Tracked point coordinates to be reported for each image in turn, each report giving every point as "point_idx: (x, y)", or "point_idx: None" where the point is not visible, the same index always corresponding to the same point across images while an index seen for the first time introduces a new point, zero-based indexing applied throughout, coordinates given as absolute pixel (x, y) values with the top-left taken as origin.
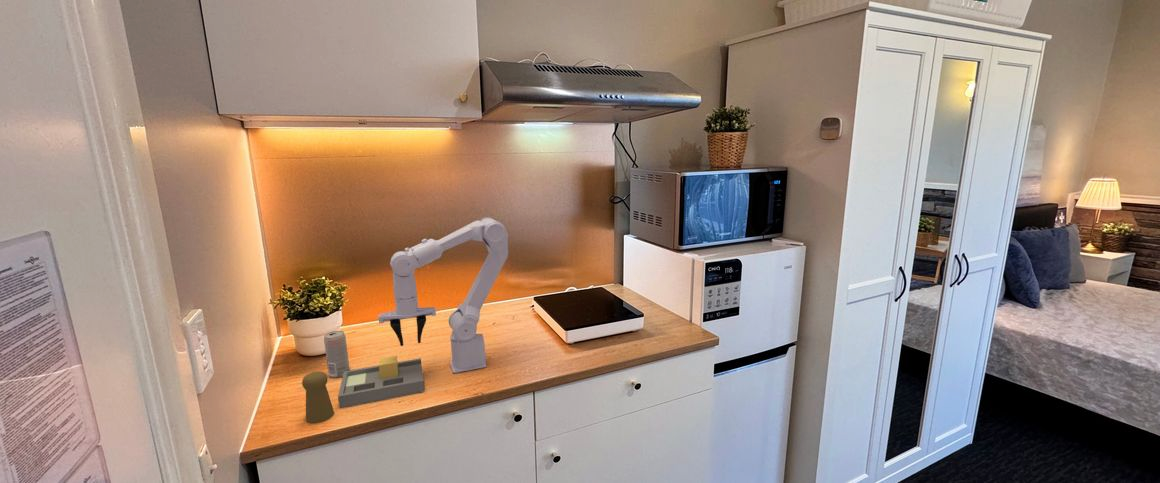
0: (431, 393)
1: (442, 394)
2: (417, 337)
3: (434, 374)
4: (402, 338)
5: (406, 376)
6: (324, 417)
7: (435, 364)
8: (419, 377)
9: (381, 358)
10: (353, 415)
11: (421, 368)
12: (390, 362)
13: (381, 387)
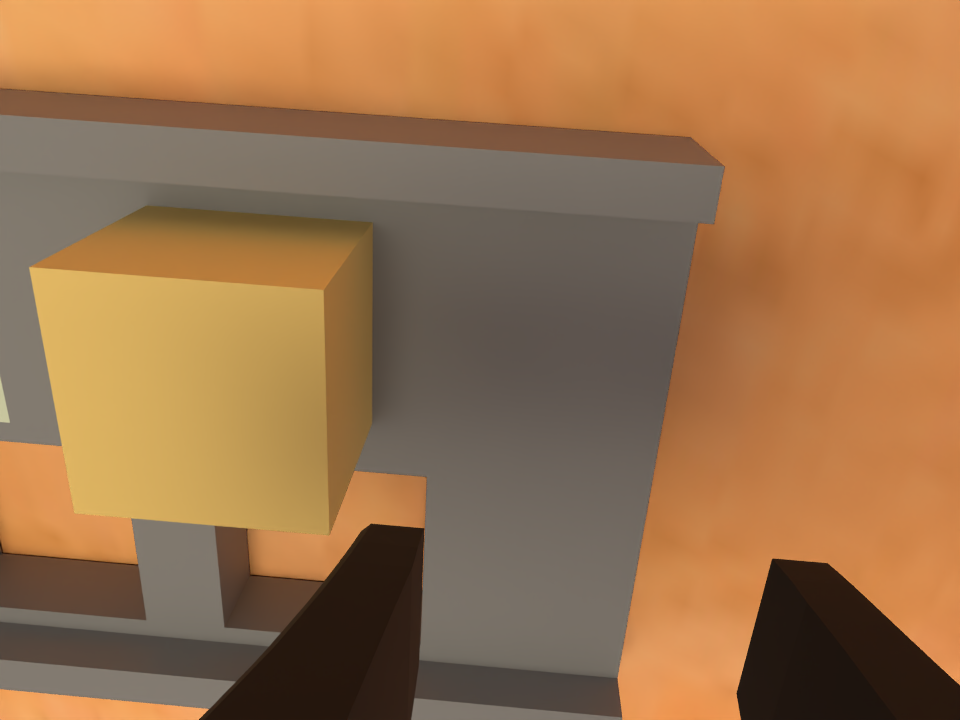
0: (655, 693)
1: None
2: (795, 655)
3: (787, 372)
4: (395, 689)
5: (464, 476)
6: None
7: (894, 92)
8: (599, 561)
9: (69, 287)
10: (55, 715)
11: (667, 358)
12: (237, 499)
13: (204, 693)
